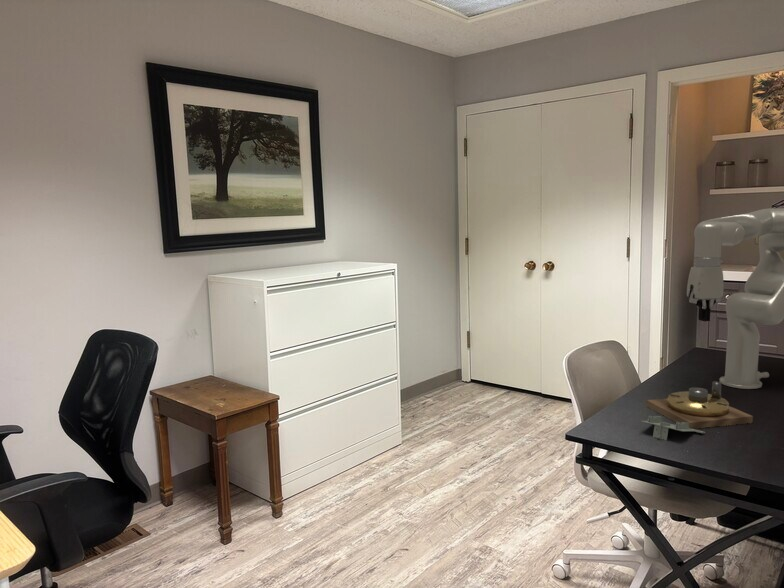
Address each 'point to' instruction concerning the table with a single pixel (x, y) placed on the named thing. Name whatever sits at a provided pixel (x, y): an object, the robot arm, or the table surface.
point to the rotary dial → (700, 401)
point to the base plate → (699, 421)
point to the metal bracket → (667, 427)
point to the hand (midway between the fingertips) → (704, 320)
